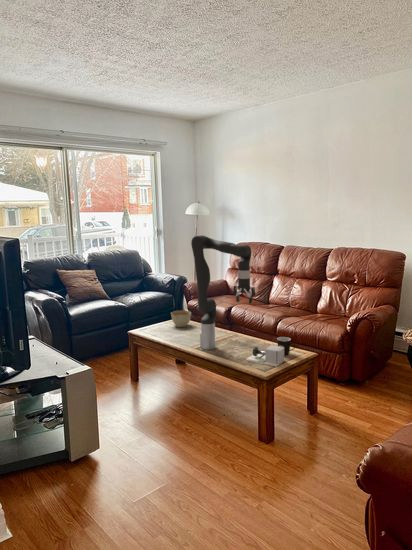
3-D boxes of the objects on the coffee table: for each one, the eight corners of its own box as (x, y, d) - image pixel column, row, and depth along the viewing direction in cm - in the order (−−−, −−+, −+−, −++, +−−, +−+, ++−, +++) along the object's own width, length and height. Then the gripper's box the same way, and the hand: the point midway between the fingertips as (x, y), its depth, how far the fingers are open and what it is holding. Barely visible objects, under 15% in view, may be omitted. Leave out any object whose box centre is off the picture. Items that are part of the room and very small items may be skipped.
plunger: (250, 358, 248) (250, 349, 247) (256, 354, 255) (256, 345, 254) (272, 362, 240) (272, 353, 240) (278, 358, 248) (278, 349, 247)
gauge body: (246, 360, 250) (245, 346, 248) (254, 354, 260) (254, 341, 258) (277, 366, 239) (277, 352, 237) (285, 360, 249) (285, 346, 247)
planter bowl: (191, 328, 322) (191, 314, 320) (171, 329, 321) (170, 315, 319) (191, 322, 337) (191, 310, 336) (171, 323, 337) (171, 310, 335)
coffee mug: (274, 353, 262) (274, 338, 260) (285, 351, 265) (285, 336, 264) (284, 359, 251) (284, 343, 250) (296, 356, 255) (296, 341, 253)
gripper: (231, 277, 256) (231, 302, 259) (251, 278, 249) (251, 305, 251) (236, 275, 263) (236, 300, 265) (257, 277, 255) (257, 302, 258)
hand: (244, 302), depth 258 cm, fingers open, 8 cm apart
